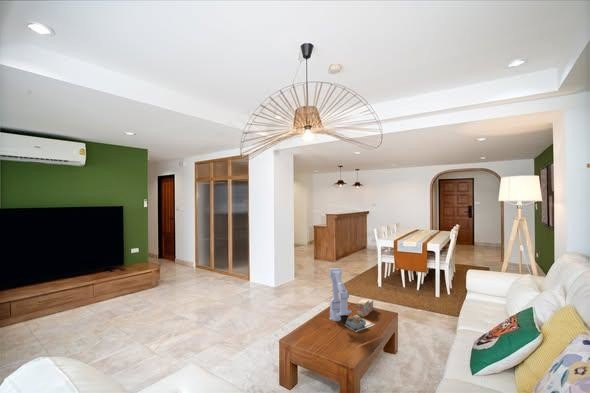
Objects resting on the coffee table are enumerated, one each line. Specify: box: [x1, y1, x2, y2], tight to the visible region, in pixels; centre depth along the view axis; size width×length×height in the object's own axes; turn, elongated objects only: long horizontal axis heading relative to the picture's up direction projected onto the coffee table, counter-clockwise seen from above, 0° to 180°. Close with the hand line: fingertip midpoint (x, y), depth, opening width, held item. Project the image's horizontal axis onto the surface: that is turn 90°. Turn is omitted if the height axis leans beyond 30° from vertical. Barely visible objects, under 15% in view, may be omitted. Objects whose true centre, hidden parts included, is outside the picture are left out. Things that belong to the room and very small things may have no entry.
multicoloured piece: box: [356, 298, 374, 318], centre depth 254 cm, size 21×6×12 cm, turn 143°
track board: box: [343, 318, 376, 333], centre depth 230 cm, size 13×22×1 cm, turn 122°
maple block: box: [352, 314, 361, 324], centre depth 228 cm, size 4×4×5 cm
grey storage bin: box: [345, 316, 366, 330], centre depth 227 cm, size 11×12×5 cm
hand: (344, 324), depth 221 cm, fingers closed
